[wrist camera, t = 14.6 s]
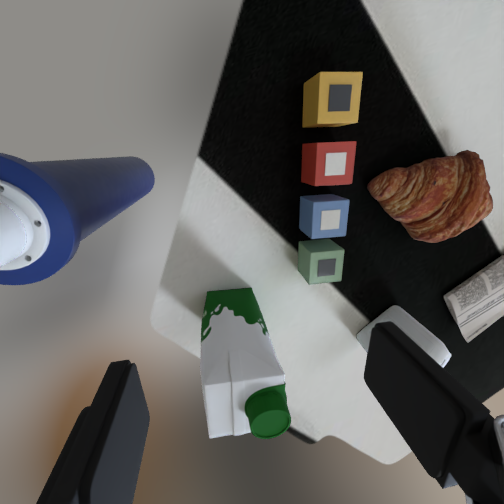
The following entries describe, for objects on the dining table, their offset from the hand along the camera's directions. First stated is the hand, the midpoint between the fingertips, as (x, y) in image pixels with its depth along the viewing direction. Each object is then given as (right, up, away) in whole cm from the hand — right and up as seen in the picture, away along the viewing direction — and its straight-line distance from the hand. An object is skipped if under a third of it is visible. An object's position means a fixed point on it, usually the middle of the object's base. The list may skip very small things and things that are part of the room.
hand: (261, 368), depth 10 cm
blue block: (+9, +11, +28) cm, 32 cm away
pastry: (+27, +13, +31) cm, 43 cm away
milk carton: (-4, -5, +32) cm, 33 cm away
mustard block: (+9, +24, +23) cm, 34 cm away
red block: (+9, +17, +26) cm, 32 cm away
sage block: (+9, +4, +31) cm, 33 cm away
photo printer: (+24, -9, +39) cm, 47 cm away
